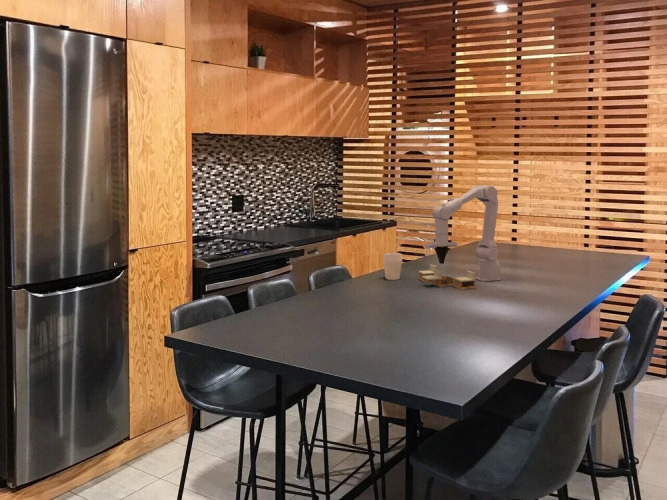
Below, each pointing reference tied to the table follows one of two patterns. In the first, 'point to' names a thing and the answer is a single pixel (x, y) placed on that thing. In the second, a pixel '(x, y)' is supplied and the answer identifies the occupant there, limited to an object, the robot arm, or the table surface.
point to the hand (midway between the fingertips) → (441, 263)
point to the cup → (392, 265)
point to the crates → (449, 282)
